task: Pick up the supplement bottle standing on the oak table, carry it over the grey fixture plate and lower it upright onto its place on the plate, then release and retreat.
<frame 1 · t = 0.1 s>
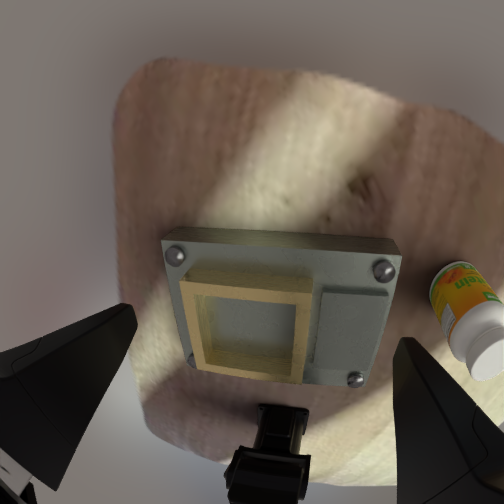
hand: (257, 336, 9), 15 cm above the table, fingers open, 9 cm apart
supplement bottle: (452, 285, 21), on the table
grey fixture plate: (280, 305, 26), on the table
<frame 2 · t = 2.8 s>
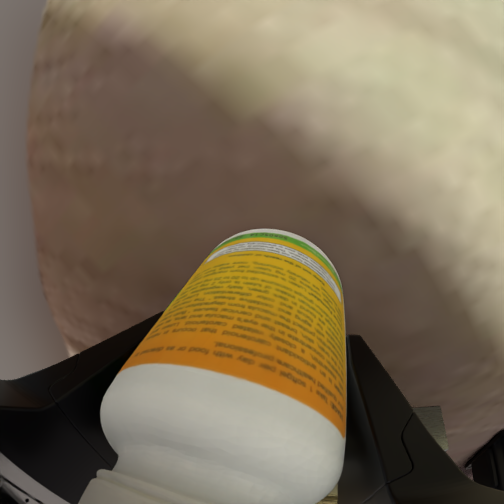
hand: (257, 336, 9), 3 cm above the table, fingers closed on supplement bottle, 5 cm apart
supplement bottle: (271, 289, 11), on the table, touching gripper
grey fixture plate: (303, 466, 17), on the table
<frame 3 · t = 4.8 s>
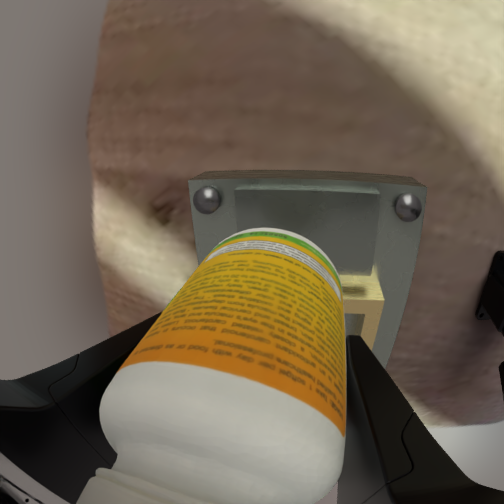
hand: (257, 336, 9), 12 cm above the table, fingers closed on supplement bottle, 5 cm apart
supplement bottle: (271, 288, 11), point 9 cm above the table, touching gripper
grey fixture plate: (305, 290, 22), on the table
when the fingers open (6 cm above the table, at t = 7.3 s): supplement bottle stays where it is, resting on grey fixture plate.
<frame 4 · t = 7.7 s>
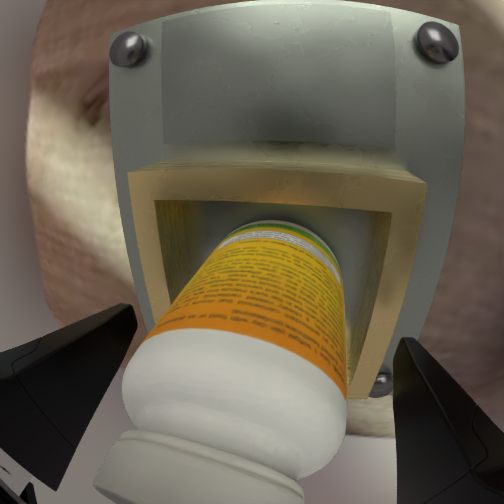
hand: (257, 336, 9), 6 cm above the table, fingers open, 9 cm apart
supplement bottle: (276, 277, 12), point 3 cm above the table, touching grey fixture plate
grey fixture plate: (284, 210, 14), on the table
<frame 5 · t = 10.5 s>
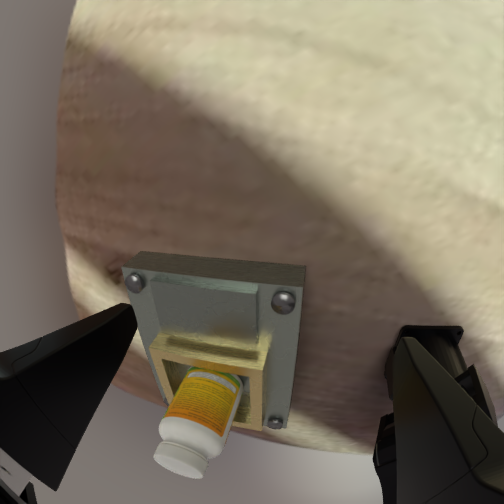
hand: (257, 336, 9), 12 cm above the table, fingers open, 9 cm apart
supplement bottle: (216, 378, 25), point 3 cm above the table, touching grey fixture plate
grey fixture plate: (223, 343, 26), on the table
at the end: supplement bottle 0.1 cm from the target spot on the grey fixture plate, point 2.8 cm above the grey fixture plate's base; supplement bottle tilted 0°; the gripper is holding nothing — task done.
